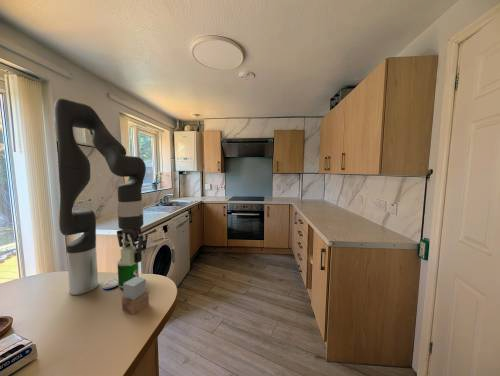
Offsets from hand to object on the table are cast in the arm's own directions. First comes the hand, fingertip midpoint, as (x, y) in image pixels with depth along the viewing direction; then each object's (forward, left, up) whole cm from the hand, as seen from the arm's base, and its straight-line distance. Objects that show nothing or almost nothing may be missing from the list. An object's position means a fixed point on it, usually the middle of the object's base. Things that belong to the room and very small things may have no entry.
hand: (132, 260), depth 70 cm
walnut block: (0, 0, -18) cm, 18 cm away
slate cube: (0, 0, -13) cm, 13 cm away
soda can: (-16, +8, -18) cm, 25 cm away
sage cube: (0, 0, 0) cm, 0 cm away
